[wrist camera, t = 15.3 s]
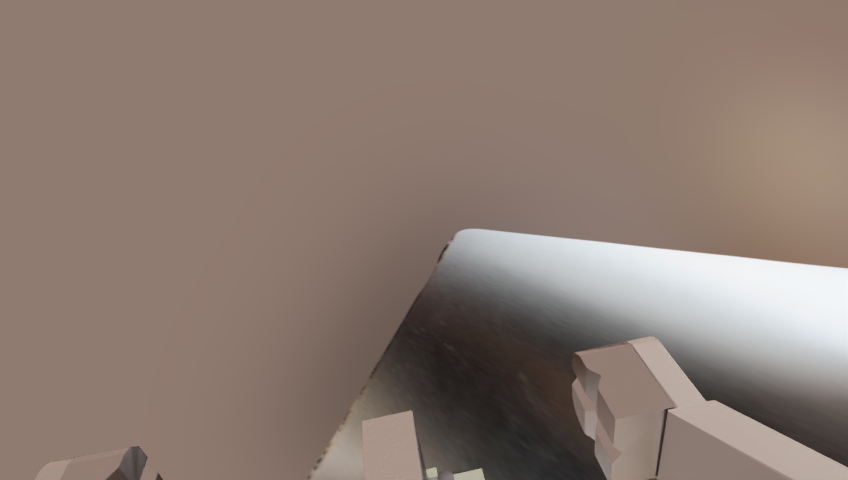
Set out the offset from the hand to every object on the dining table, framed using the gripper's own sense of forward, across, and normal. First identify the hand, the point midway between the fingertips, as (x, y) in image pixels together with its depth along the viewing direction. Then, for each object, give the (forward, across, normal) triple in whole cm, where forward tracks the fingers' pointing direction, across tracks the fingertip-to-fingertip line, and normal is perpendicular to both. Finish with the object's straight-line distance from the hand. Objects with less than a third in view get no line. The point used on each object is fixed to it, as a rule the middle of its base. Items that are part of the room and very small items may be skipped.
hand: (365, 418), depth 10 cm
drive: (+14, +2, +31) cm, 34 cm away
